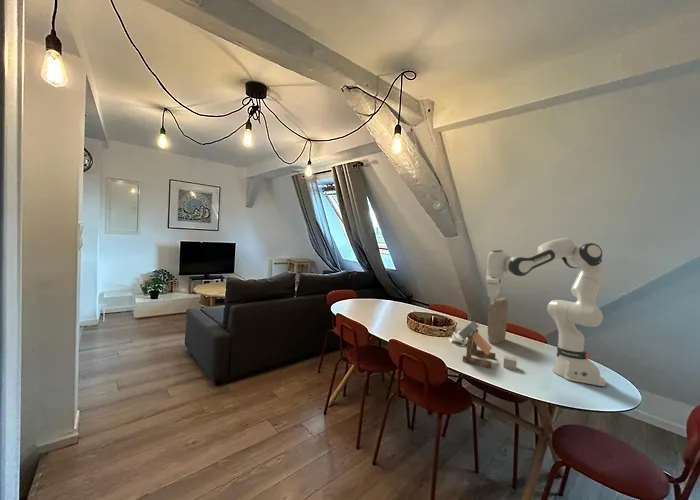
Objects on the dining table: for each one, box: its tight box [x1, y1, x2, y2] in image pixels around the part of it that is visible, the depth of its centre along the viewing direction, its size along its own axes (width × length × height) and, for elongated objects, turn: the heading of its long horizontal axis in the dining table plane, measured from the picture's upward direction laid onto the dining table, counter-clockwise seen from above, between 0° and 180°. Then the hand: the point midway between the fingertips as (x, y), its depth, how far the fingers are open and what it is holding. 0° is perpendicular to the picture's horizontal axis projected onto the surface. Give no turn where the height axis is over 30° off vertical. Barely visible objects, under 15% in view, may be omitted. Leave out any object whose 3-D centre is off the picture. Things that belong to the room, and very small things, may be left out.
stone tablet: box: [487, 297, 509, 345], centre depth 212 cm, size 20×8×30 cm, turn 130°
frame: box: [462, 328, 496, 369], centre depth 177 cm, size 14×18×15 cm
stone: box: [502, 355, 518, 371], centre depth 169 cm, size 5×5×6 cm
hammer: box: [459, 320, 493, 355], centre depth 178 cm, size 18×14×8 cm
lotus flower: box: [447, 329, 468, 347], centre depth 205 cm, size 14×15×9 cm
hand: (493, 302), depth 175 cm, fingers open, 8 cm apart
